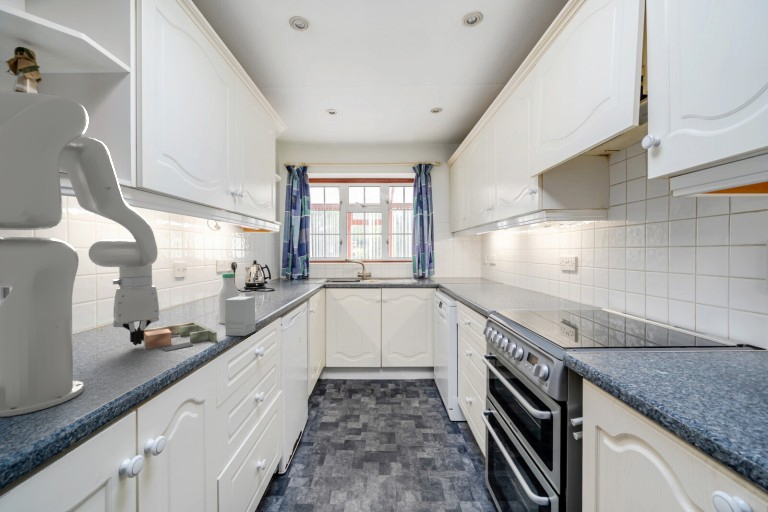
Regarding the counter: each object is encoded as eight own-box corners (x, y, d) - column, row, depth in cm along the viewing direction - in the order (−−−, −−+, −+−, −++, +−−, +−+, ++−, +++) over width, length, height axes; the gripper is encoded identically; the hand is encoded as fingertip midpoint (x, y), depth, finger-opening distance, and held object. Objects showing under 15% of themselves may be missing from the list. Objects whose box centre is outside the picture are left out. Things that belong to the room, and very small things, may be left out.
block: (146, 349, 90) (146, 335, 89) (144, 344, 94) (144, 332, 94) (171, 345, 94) (171, 332, 94) (168, 340, 98) (168, 328, 98)
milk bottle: (240, 322, 122) (239, 273, 122) (218, 325, 118) (218, 274, 118) (238, 319, 129) (238, 272, 129) (217, 321, 125) (217, 273, 125)
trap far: (153, 341, 97) (153, 340, 97) (149, 338, 100) (149, 337, 100) (178, 336, 102) (178, 335, 102) (174, 334, 105) (174, 333, 105)
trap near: (165, 351, 87) (165, 350, 87) (161, 348, 90) (161, 347, 90) (193, 346, 92) (193, 345, 92) (188, 343, 95) (188, 342, 95)
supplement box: (256, 330, 110) (256, 296, 110) (244, 336, 103) (244, 299, 102) (237, 330, 111) (236, 296, 111) (224, 335, 103) (224, 299, 103)
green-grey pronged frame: (157, 353, 85) (157, 343, 85) (141, 339, 99) (141, 330, 99) (216, 341, 97) (216, 332, 97) (194, 330, 111) (194, 321, 111)
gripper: (104, 285, 82) (105, 352, 82) (169, 281, 93) (170, 340, 93) (100, 283, 87) (101, 347, 87) (163, 279, 98) (163, 336, 98)
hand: (137, 343), depth 90 cm, fingers closed
